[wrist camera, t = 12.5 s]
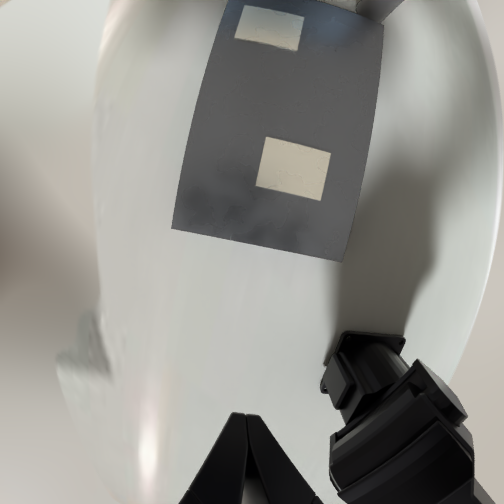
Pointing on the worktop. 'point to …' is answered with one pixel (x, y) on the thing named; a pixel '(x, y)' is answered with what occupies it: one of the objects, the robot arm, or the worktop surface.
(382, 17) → the light blue flat slab
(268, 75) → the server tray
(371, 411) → the robot arm
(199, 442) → the worktop surface
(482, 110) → the worktop surface
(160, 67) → the worktop surface
